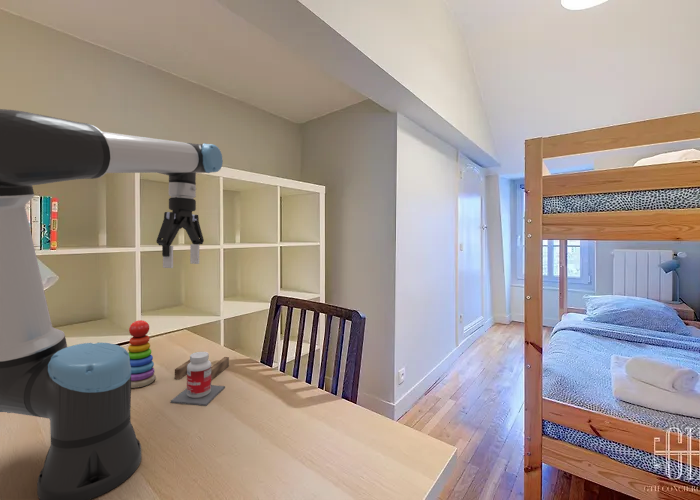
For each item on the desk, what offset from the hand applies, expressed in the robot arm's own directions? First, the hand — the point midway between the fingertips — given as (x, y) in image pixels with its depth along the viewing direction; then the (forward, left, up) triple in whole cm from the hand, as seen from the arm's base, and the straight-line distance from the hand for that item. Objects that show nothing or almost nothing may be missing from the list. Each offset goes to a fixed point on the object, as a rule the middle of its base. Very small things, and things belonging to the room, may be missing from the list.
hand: (182, 265), depth 101 cm
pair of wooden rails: (+2, -6, -35) cm, 35 cm away
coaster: (-12, -13, -35) cm, 39 cm away
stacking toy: (-8, +8, -35) cm, 37 cm away
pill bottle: (-12, -13, -34) cm, 39 cm away
